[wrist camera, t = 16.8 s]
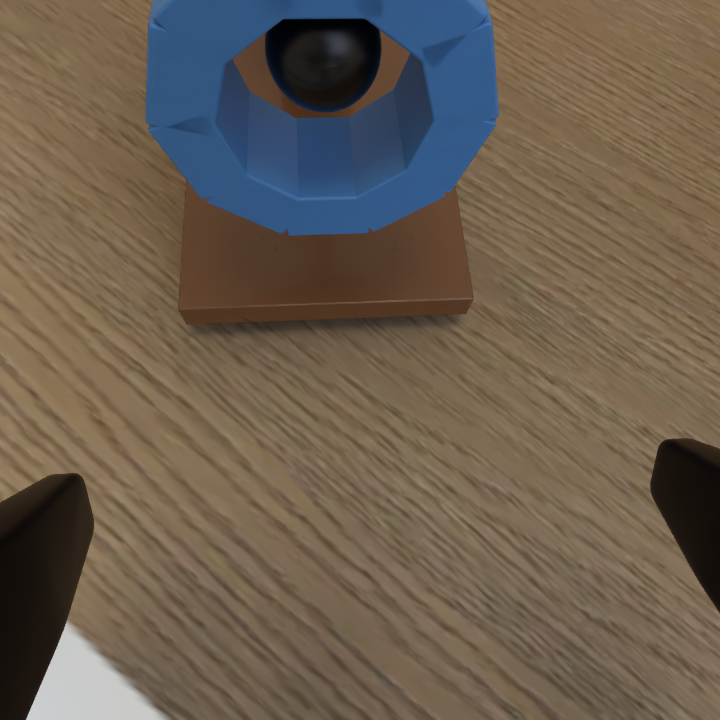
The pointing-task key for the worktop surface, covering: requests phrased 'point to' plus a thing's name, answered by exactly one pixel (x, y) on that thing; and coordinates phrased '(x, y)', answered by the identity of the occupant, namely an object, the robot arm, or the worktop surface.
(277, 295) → the hook stand
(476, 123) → the tape roll
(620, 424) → the worktop surface
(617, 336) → the worktop surface
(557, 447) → the worktop surface
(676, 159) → the worktop surface
